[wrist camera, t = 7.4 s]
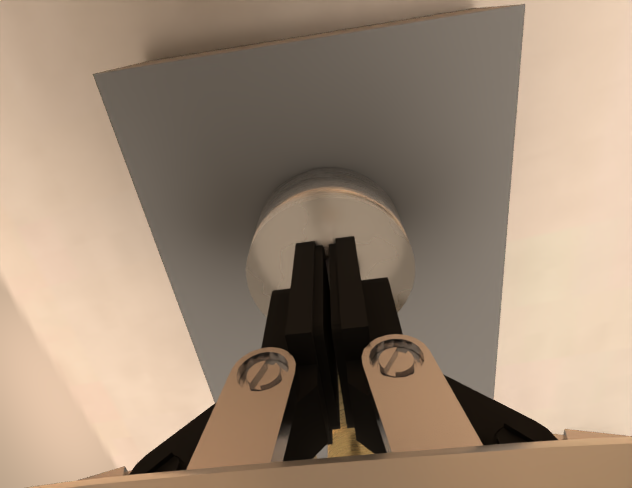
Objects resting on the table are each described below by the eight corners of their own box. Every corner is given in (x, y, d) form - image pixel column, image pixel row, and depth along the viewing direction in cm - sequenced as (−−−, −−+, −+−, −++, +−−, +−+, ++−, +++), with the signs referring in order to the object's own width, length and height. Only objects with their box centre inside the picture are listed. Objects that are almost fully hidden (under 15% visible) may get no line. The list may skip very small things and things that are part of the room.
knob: (258, 146, 16) (227, 210, 11) (380, 129, 16) (412, 186, 11) (281, 251, 19) (264, 348, 13) (388, 238, 18) (417, 332, 13)
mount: (145, 61, 15) (93, 74, 12) (475, 8, 14) (525, 4, 11) (276, 484, 28) (270, 552, 24) (460, 469, 27) (482, 538, 23)
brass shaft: (315, 361, 17) (312, 515, 12) (378, 354, 17) (405, 508, 11) (323, 405, 18) (325, 562, 13) (383, 399, 18) (409, 557, 13)
